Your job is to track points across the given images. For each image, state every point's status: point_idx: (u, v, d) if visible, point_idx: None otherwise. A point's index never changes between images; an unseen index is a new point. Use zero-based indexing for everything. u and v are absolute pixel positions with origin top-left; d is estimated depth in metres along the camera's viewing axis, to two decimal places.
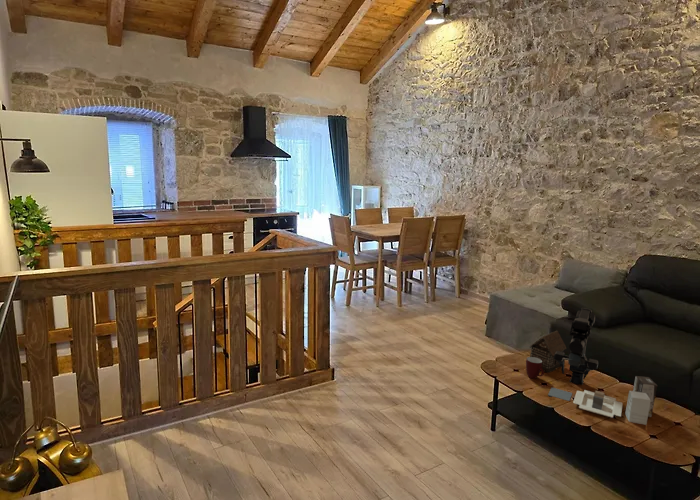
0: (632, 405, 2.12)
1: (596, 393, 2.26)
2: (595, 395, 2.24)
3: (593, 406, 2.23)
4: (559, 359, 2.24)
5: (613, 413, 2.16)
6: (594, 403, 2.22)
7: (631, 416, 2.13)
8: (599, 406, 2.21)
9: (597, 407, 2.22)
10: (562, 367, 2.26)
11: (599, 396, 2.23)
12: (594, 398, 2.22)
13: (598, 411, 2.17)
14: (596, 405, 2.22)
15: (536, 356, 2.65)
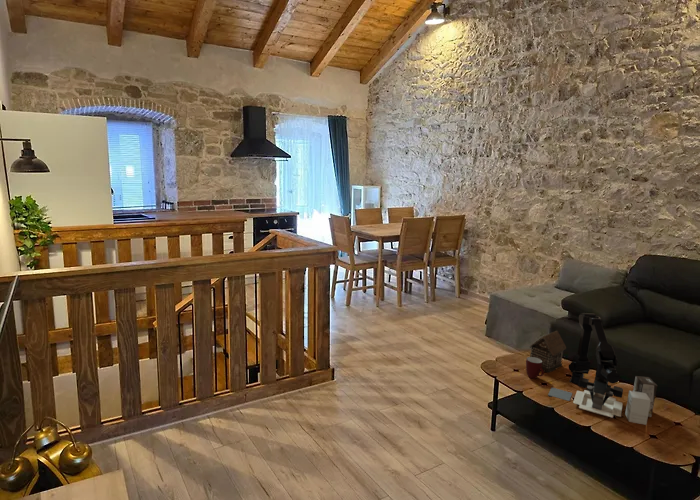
0: (632, 405, 2.12)
1: (596, 393, 2.26)
2: (595, 395, 2.24)
3: (593, 406, 2.23)
4: (584, 386, 2.25)
5: (613, 413, 2.16)
6: (594, 403, 2.22)
7: (631, 416, 2.13)
8: (599, 406, 2.21)
9: (597, 407, 2.22)
10: (592, 395, 2.25)
11: (599, 396, 2.23)
12: (594, 398, 2.22)
13: (598, 411, 2.17)
14: (596, 405, 2.22)
15: (536, 356, 2.65)
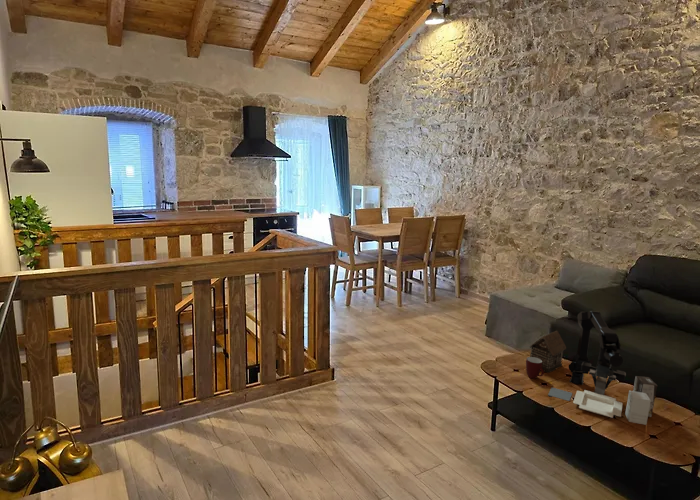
0: (632, 405, 2.12)
1: (599, 377, 2.24)
2: (598, 379, 2.22)
3: (596, 390, 2.21)
4: (586, 370, 2.23)
5: (613, 413, 2.16)
6: (596, 387, 2.21)
7: (631, 416, 2.13)
8: (602, 390, 2.20)
9: (600, 391, 2.20)
10: (594, 380, 2.24)
11: (602, 380, 2.22)
12: (597, 382, 2.20)
13: (598, 411, 2.17)
14: (598, 390, 2.20)
15: (536, 356, 2.65)
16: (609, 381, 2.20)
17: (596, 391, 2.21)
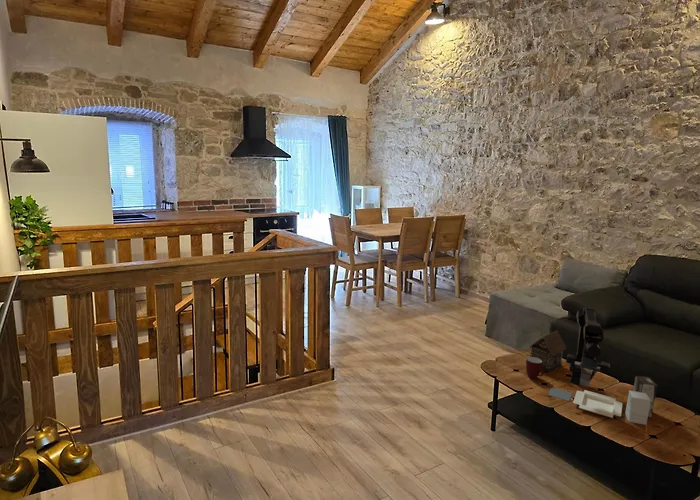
0: (632, 405, 2.12)
1: (584, 369, 2.28)
2: (583, 371, 2.26)
3: (581, 382, 2.25)
4: (571, 362, 2.27)
5: (613, 413, 2.16)
6: (581, 379, 2.25)
7: (631, 416, 2.13)
8: (587, 381, 2.24)
9: (585, 383, 2.24)
10: (580, 371, 2.27)
11: (587, 372, 2.26)
12: (582, 374, 2.24)
13: (598, 411, 2.17)
14: (584, 381, 2.24)
15: (536, 356, 2.65)
16: (594, 372, 2.24)
17: (581, 383, 2.25)
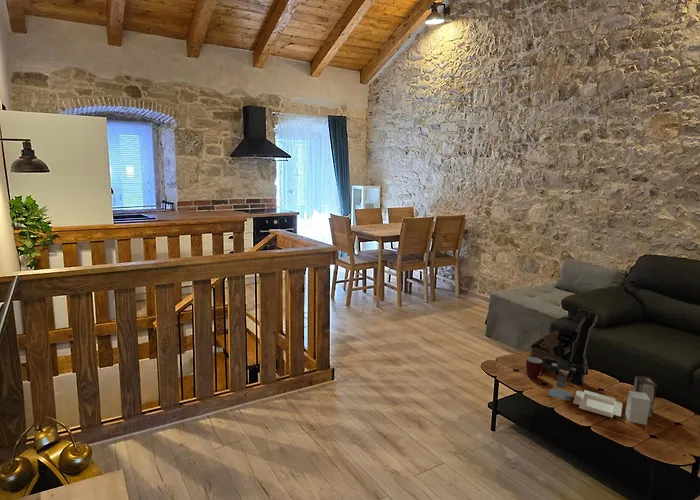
0: (632, 405, 2.12)
1: (560, 371, 2.35)
2: (559, 373, 2.33)
3: (557, 384, 2.32)
4: (549, 364, 2.34)
5: (613, 413, 2.16)
6: (558, 380, 2.32)
7: (631, 416, 2.13)
8: (563, 383, 2.31)
9: (561, 384, 2.31)
10: (557, 373, 2.35)
11: (563, 374, 2.33)
12: (558, 376, 2.32)
13: (598, 411, 2.17)
14: (560, 383, 2.32)
15: (536, 356, 2.65)
16: (570, 374, 2.31)
17: (558, 384, 2.32)
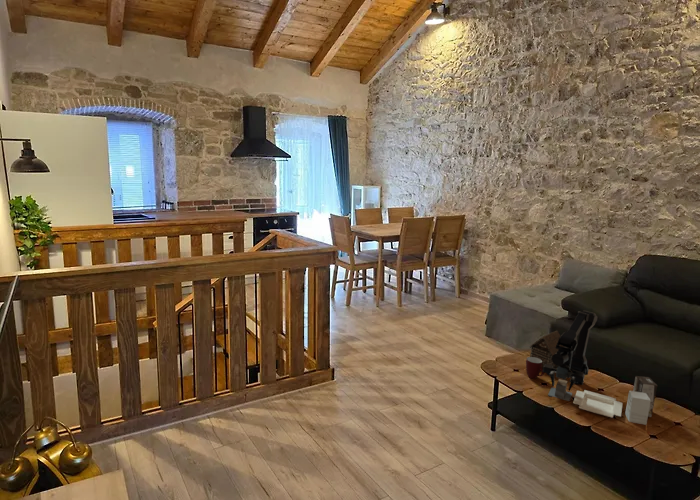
0: (632, 405, 2.12)
1: (559, 381, 2.36)
2: (558, 383, 2.34)
3: (556, 393, 2.33)
4: (547, 372, 2.35)
5: (613, 413, 2.16)
6: (556, 390, 2.33)
7: (631, 416, 2.13)
8: (561, 393, 2.32)
9: (559, 394, 2.32)
10: (552, 380, 2.36)
11: (562, 384, 2.34)
12: (557, 386, 2.33)
13: (598, 411, 2.17)
14: (558, 393, 2.33)
15: (536, 356, 2.65)
16: (572, 383, 2.31)
17: (556, 394, 2.33)
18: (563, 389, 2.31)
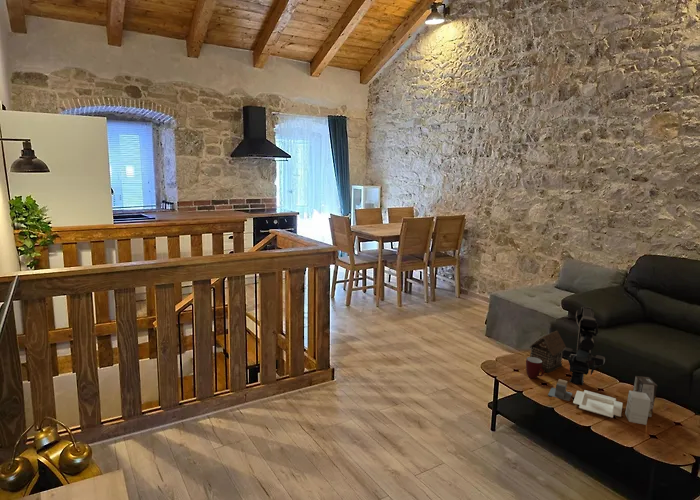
0: (632, 405, 2.12)
1: (559, 381, 2.36)
2: (558, 383, 2.34)
3: (556, 393, 2.33)
4: (567, 355, 2.35)
5: (613, 413, 2.16)
6: (556, 390, 2.33)
7: (631, 416, 2.13)
8: (561, 393, 2.32)
9: (559, 394, 2.32)
10: (570, 363, 2.37)
11: (562, 384, 2.34)
12: (557, 386, 2.33)
13: (598, 411, 2.17)
14: (558, 393, 2.33)
15: (536, 356, 2.65)
16: (594, 367, 2.30)
17: (556, 394, 2.33)
18: (563, 389, 2.31)
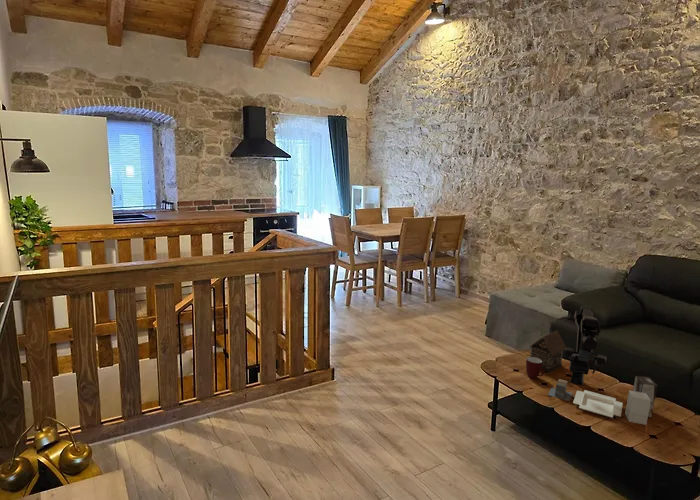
0: (632, 405, 2.12)
1: (559, 381, 2.36)
2: (558, 383, 2.34)
3: (556, 393, 2.33)
4: (569, 355, 2.35)
5: (613, 413, 2.16)
6: (556, 390, 2.33)
7: (631, 416, 2.13)
8: (561, 393, 2.32)
9: (559, 394, 2.32)
10: (572, 363, 2.37)
11: (562, 384, 2.34)
12: (557, 386, 2.33)
13: (598, 411, 2.17)
14: (558, 393, 2.33)
15: (536, 356, 2.65)
16: (596, 366, 2.30)
17: (556, 394, 2.33)
18: (563, 389, 2.31)
